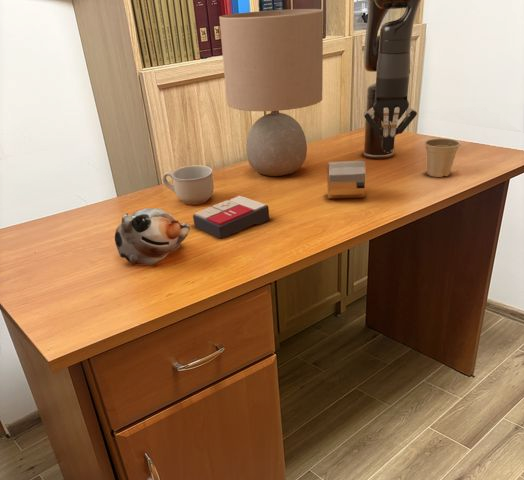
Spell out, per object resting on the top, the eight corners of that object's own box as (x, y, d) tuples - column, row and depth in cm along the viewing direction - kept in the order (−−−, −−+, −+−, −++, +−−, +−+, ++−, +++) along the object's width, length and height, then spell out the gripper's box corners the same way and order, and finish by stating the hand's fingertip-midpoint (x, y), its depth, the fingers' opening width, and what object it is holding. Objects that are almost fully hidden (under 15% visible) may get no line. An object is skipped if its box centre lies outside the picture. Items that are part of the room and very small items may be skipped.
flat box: (191, 212, 128) (239, 192, 135) (194, 229, 130) (242, 209, 137) (219, 223, 121) (268, 202, 128) (221, 241, 123) (270, 219, 130)
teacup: (222, 196, 147) (219, 166, 143) (202, 209, 139) (199, 178, 135) (179, 191, 152) (175, 163, 148) (158, 204, 144) (153, 174, 140)
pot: (360, 188, 146) (361, 154, 141) (365, 204, 136) (367, 168, 131) (326, 190, 147) (327, 156, 141) (329, 205, 137) (329, 169, 132)
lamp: (325, 158, 172) (326, 7, 148) (317, 185, 150) (318, 13, 127) (243, 159, 176) (232, 12, 153) (224, 185, 155) (208, 19, 131)
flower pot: (452, 168, 156) (456, 137, 151) (458, 178, 148) (463, 146, 143) (419, 169, 157) (422, 138, 152) (423, 179, 149) (427, 147, 144)
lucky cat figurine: (183, 238, 124) (193, 192, 113) (181, 279, 117) (192, 234, 106) (116, 227, 120) (120, 179, 109) (110, 268, 114) (114, 221, 102)
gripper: (418, 70, 127) (411, 146, 137) (362, 73, 128) (358, 149, 138) (425, 75, 121) (416, 154, 131) (365, 78, 122) (362, 157, 132)
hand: (387, 151), depth 134 cm, fingers closed
